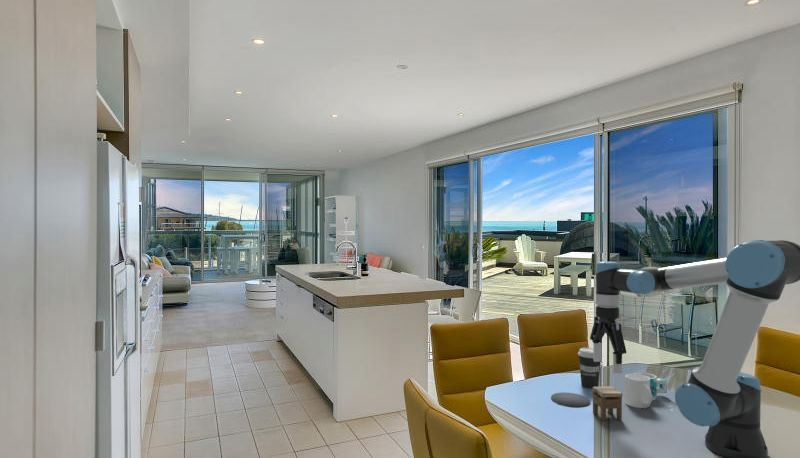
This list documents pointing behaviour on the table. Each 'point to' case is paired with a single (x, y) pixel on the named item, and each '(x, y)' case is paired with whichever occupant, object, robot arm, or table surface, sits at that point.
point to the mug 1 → (637, 391)
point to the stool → (607, 401)
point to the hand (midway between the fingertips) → (606, 367)
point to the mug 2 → (655, 384)
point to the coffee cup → (588, 368)
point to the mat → (570, 399)
